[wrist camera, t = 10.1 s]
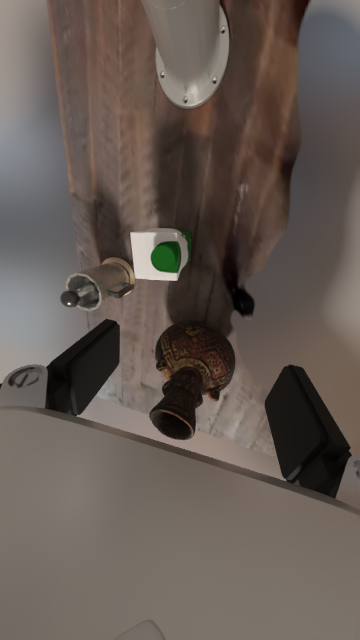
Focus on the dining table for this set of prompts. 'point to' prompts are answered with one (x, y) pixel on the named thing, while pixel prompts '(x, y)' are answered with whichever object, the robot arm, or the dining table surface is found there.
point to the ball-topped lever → (74, 296)
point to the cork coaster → (125, 264)
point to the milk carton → (160, 253)
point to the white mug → (100, 284)
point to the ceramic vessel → (190, 374)
